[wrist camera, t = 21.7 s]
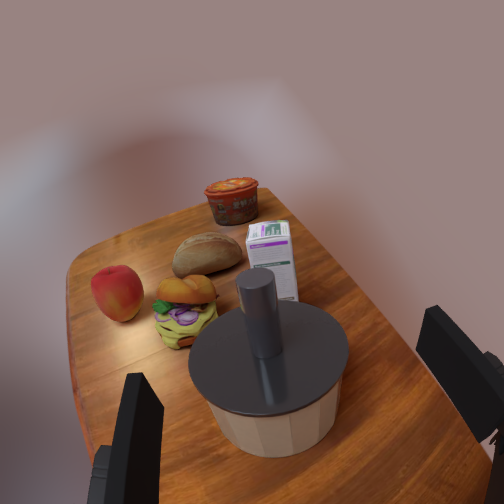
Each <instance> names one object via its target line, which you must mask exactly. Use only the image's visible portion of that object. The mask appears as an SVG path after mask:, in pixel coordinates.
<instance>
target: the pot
mask: <svg viewBox="0 0 504 504" xmlns="http://www.w3.org/2000/svg"><path fill="white" fill-rule="evenodd" d="M341 383H342V377H341V378H340V380H339V381H338V383H337V384H336V385H335V387H334V388H333V389H332V390H331V391H330V392H329V393H328V394H326V395H325V396H324V397H323V398H321V399H320V400H319V401H317V402H315V403H314V404H312V405H310V406H308V407H306V408H304V409H302V410H299V411H297V412H294V413H290V414H287V415H282V416H276V417H266V418H255V417H245V416H240V415H236V414H232V413H229V412H227V411H224V410H222V409H220V408H218V407H216V406H214V405H213V404H211V403H210V402H209V401H207V402H208V404H209V406H210V408H211V410H212V412H213V414H214V416H215V418H216V420H217V422H218V424H219V426H220V428H221V430H222V432H223V434H224V436H225V437H226V438H228V440H229V441H230V442H231V443H233V444H234V445H235V446H236V447H238V448H239V449H241V450H243V451H245V452H247V453H250V454H253V455H256V456H261V457H270V458H276V457H286V456H291V455H294V454H298V453H300V452H303V451H305V450H307V449H309V448H311V447H312V446H314V445H315V444H317V443H318V442H319V441H320V440H321V439H322V438H323V437H324V436H325V435H326V434H327V433H328V432H329V430H330V429H331V427H332V426H333V424H334V421H335V418H336V415H337V410H338V407H339V401H340V392H341Z"/></svg>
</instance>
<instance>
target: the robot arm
mask: <svg viewBox="0 0 504 504" xmlns="http://www.w3.org/2000/svg"><path fill="white" fill-rule="evenodd" d="M416 351H417V352H418V354H419V355H420V357H421V358H422V359H423V361H424V362H425V363H426V365H427V366H428V368H429V369H430V370H431V372H432V373H433V375H434V376H435V377H436V379H437V380H438V382H439V383H440V385H441V386H442V388H443V389H444V390H445V392H446V393H447V395H448V396H449V398H450V399H451V401H452V402H453V404H454V405H455V407H456V408H457V410H458V411H459V413H460V414H461V416H462V417H463V419H464V421H465V422H466V424H467V425H468V427H469V428H470V430H471V432H472V433H473V435H474V436H475V438H476V440H477V441H478V443H480V442H482V441H483V440H484V439H486V438H487V437H489V436H490V435H491V434H492V433H493V432H494V430H495V429H496V428H497V429H498V432H497V433H496V434H495V435H494V437H493V438H492V439H491V441H490V443H489V444H490V445H491V444H492V443H493V442H494V441H495V440H496V442H495V443H494V445H495V453H494V459H493V465H492V470H491V475H490V480H489V485H488V489H487V494H486V498H485V501H484V504H504V366H503V364H502V362H501V361H500V360H499V359H498V358H497V356H495V355H493V354H492V353H490V352H488V351H487V352H486V353H484V354H483V353H482V352H481V351H480V350H479V349H478V348H477V346H476V345H475V344H474V343H473V342H472V341H471V340H470V339H469V338H468V337H467V335H466V334H465V333H464V332H463V331H462V330H461V329H460V328H459V327H458V326H457V325H456V324H455V322H453V320H452V319H451V318H450V317H449V316H448V315H447V314H446V313H445V312H444V311H443V310H442V309H441V308H440V307H439V306H438V305H436V306H433V307H430V308H427V309H426V310H425V314H424V319H423V323H422V327H421V331H420V335H419V339H418V343H417V346H416ZM163 417H164V406H163V405H162V403H161V402H160V400H159V399H158V397H157V396H156V394H155V392H154V391H153V389H152V388H151V386H150V384H149V383H148V381H147V379H146V378H145V376H144V374H143V373H142V372H140V373H128V374H127V376H126V380H125V385H124V389H123V393H122V398H121V402H120V407H119V411H118V416H117V421H116V426H115V431H114V437H113V442H112V446H108V445H101V446H100V448H99V449H98V451H97V453H96V454H95V458H94V463H93V467H94V468H93V469H92V477H91V481H90V487H89V493H88V501H87V504H159V477H160V457H161V442H162V429H163Z"/></svg>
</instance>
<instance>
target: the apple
mask: <svg viewBox="0 0 504 504" xmlns="http://www.w3.org/2000/svg"><path fill="white" fill-rule="evenodd" d="M91 289H92V294H93V297H94V300H95V302H96V304H97V306H98V307H99V309H100V310H101V311H102V312H103V313H104V314H105V315H106V316H107V317H109V318H110V319H112V320H115V321H120V322H121V321H128V320H130V319H132V318H133V317H134V316H135V315H136V314H137V312H138V311H139V309H140V307H141V305H142V303H143V299H144V290H143V286H142V283H141V280H140V278H139V276H138V275H137V274H136V272H135V271H134V270H132V269H131V268H130V267H128V266H125V265H118V266H110V267H107V268H104V269H102V270H101V271H99V272H98V273H97V274H96V275H95V276H94V277H93V278H92V280H91Z"/></svg>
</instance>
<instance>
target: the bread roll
mask: <svg viewBox="0 0 504 504" xmlns="http://www.w3.org/2000/svg"><path fill="white" fill-rule="evenodd" d="M241 257H242V250H241V247H240V246H239V245H238V243H237V242H236V241H235V240H234V239H232V238H230V237H228V236H226V235H224V234H221V233H216V232H208V233H202V234H198V235H194V236H192V237H190V238H188V239H187V240H185V241H184V242H183V243H182V244H181V245H180V246H179V247H178V249H177V251H176V253H175V256H174V259H173V264H172V270H173V272H174V274H175V276H177V277H178V278H180V279H184V278H185V277H187V276H190V275H205V274H209V273H212V272H216V271H219V270H223V269H226V268H229V267H231V266H233V265H235V264H237V263H238V262H239V260H240V259H241Z"/></svg>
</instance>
